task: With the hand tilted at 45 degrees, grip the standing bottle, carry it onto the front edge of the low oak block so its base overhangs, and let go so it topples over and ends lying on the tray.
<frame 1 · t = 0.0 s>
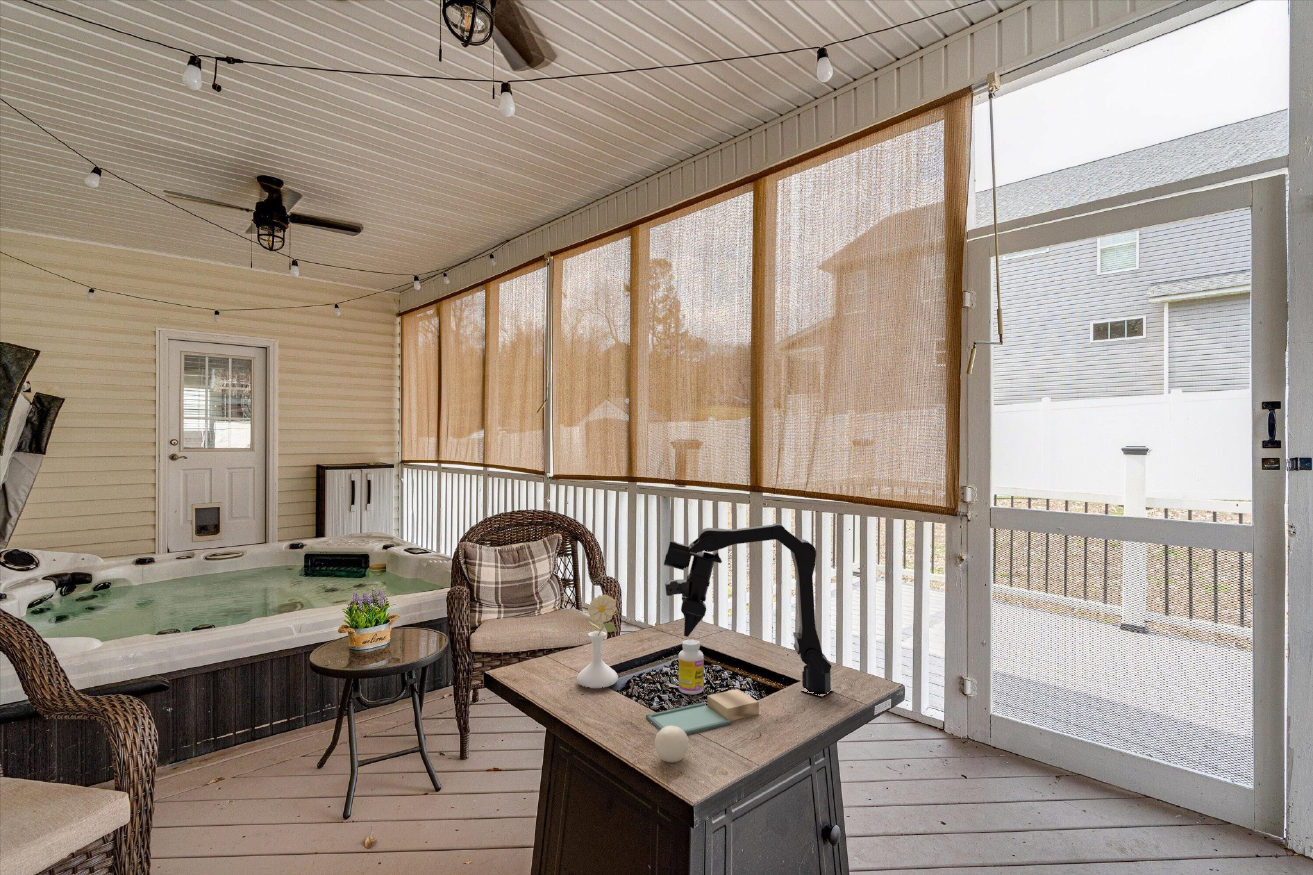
hand: (686, 631, 165), 15 cm above the table, tool pointing down, fingers open, 9 cm apart
supplement bottle: (691, 691, 164), on the table
flower in vase: (599, 685, 168), on the table
cream white ball: (672, 760, 127), on the table
block: (732, 710, 151), on the table
tray: (687, 721, 145), on the table
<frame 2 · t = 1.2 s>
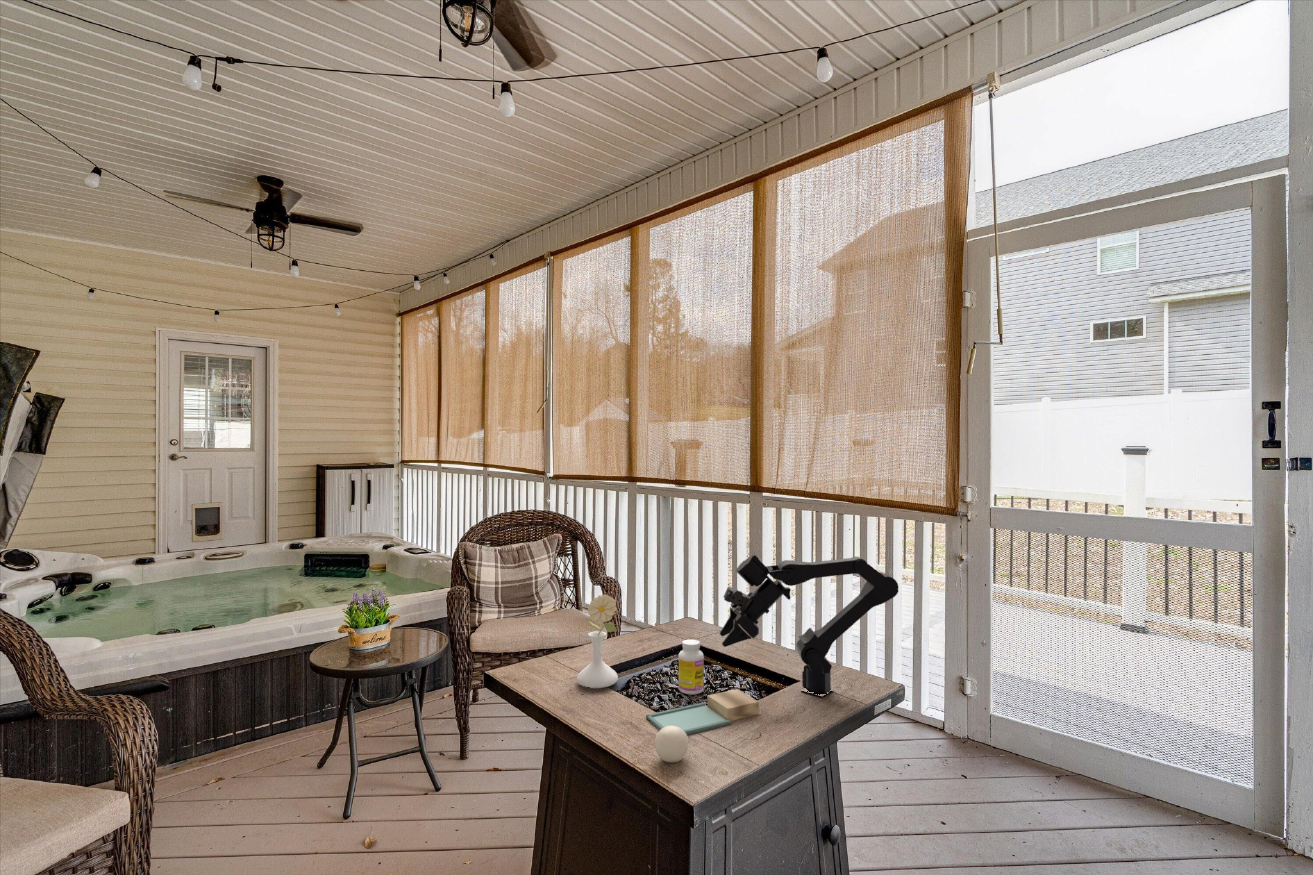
hand: (722, 640, 164), 13 cm above the table, tool tilted 45°, fingers open, 9 cm apart
nothing on the table moved.
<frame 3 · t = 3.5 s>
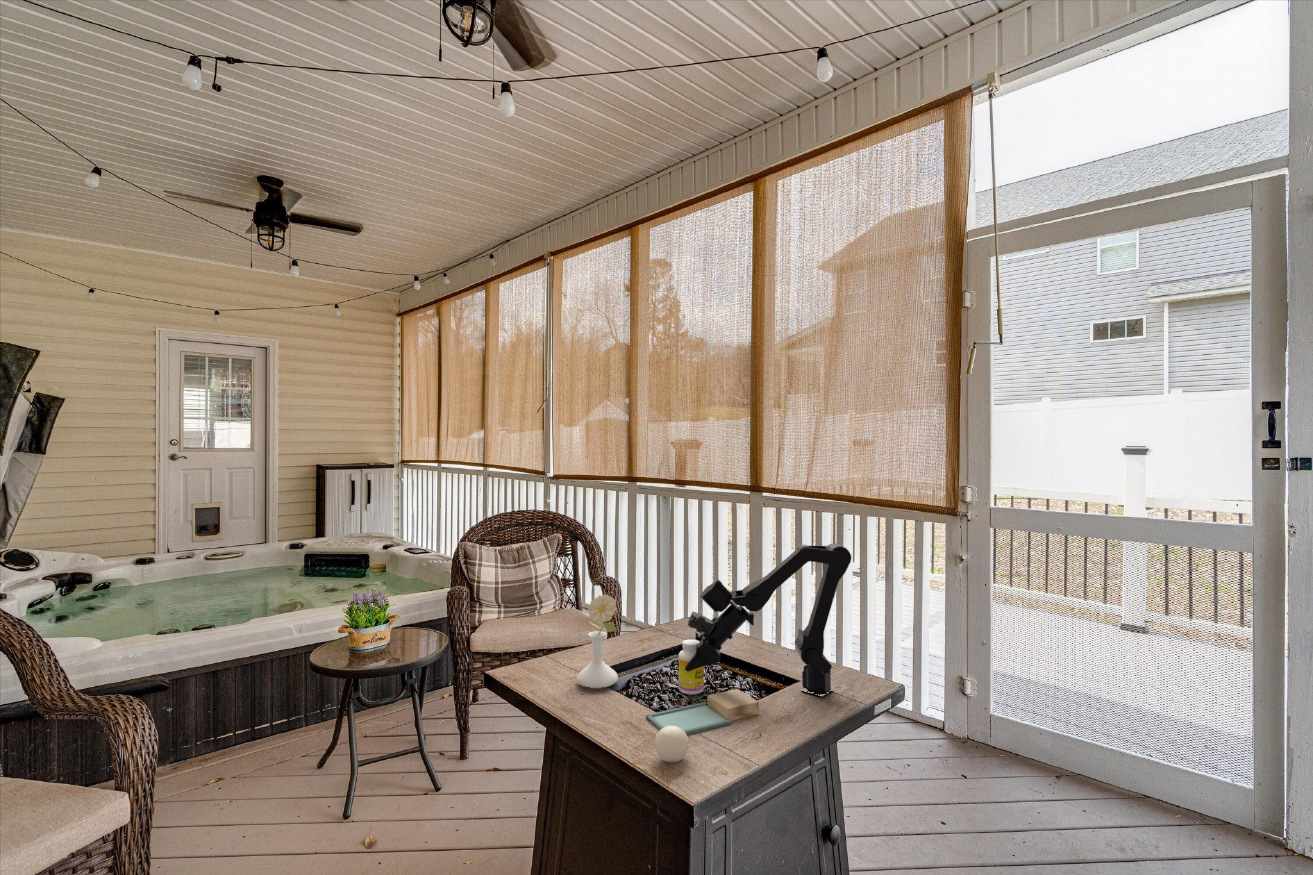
hand: (685, 665, 164), 7 cm above the table, tool tilted 45°, fingers closed on supplement bottle, 7 cm apart
supplement bottle: (691, 691, 164), on the table, touching gripper
everything else where it was.
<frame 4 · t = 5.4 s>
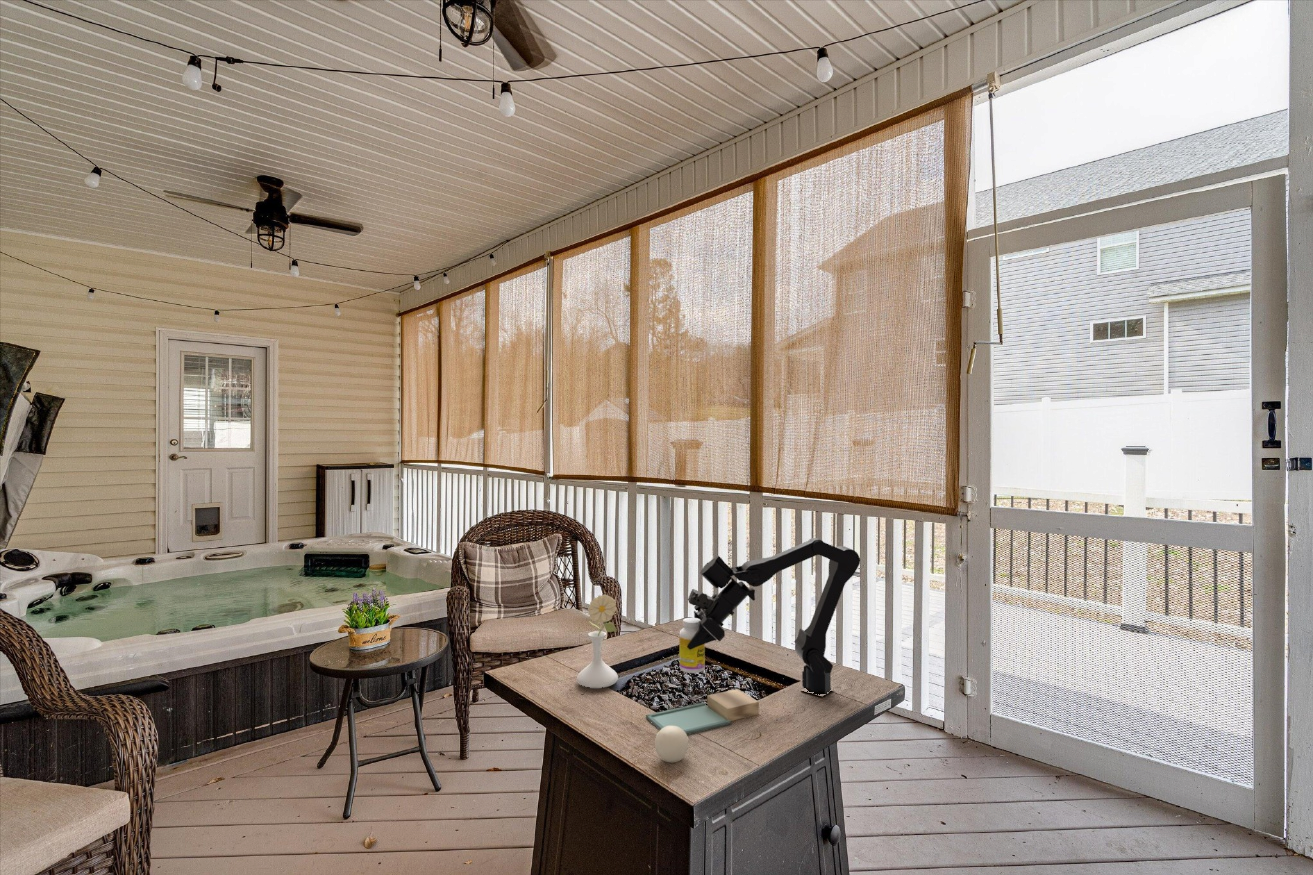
hand: (686, 643, 161), 13 cm above the table, tool tilted 45°, fingers closed on supplement bottle, 7 cm apart
supplement bottle: (692, 670, 161), point 6 cm above the table, touching gripper
everything else where it was.
when the fingers open (10 cm above the table, at t = 7.3 s): supplement bottle moves 3 cm, resting on tray.
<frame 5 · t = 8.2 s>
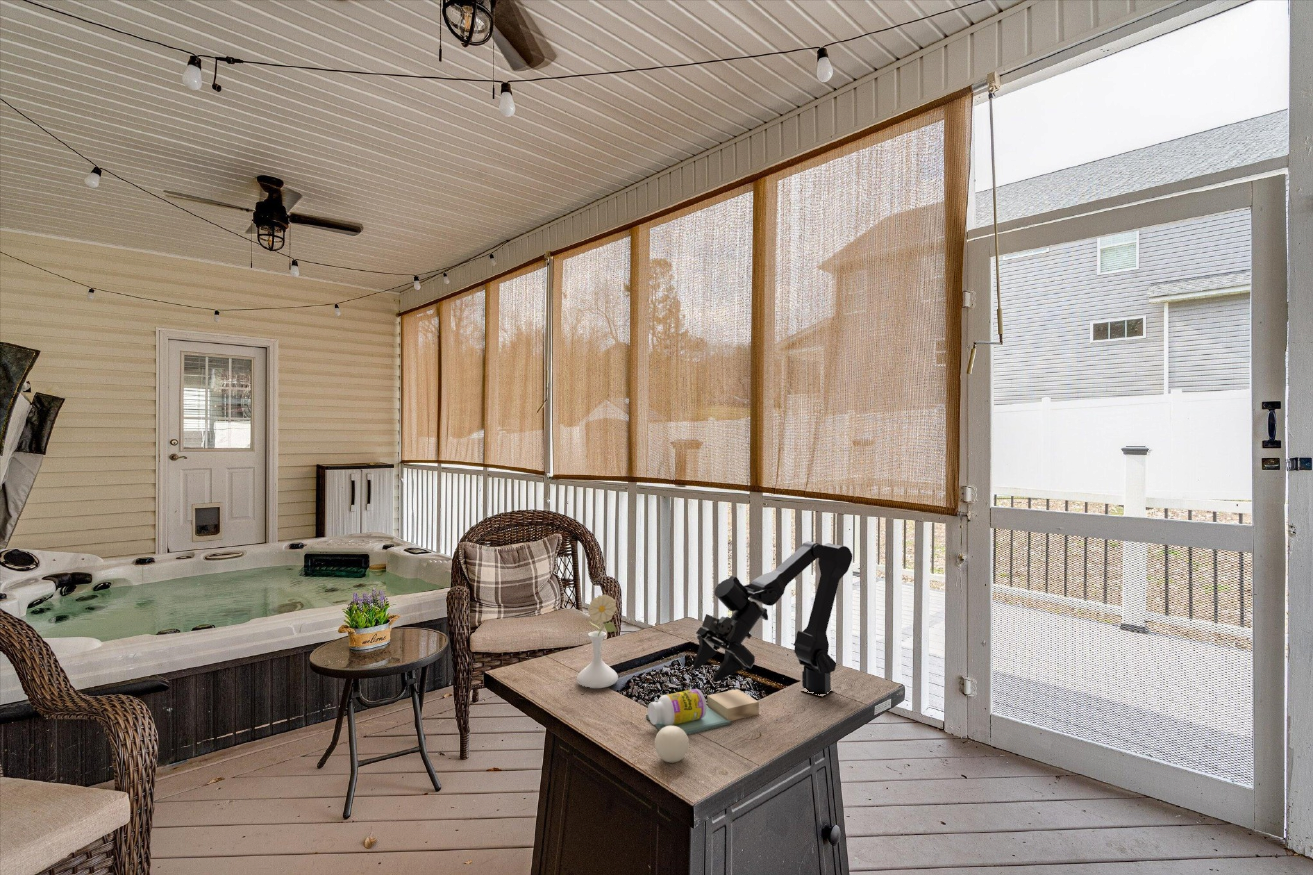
hand: (703, 674, 147), 10 cm above the table, tool tilted 45°, fingers open, 9 cm apart
supplement bottle: (701, 702, 146), point 4 cm above the table, touching tray
everything else where it was.
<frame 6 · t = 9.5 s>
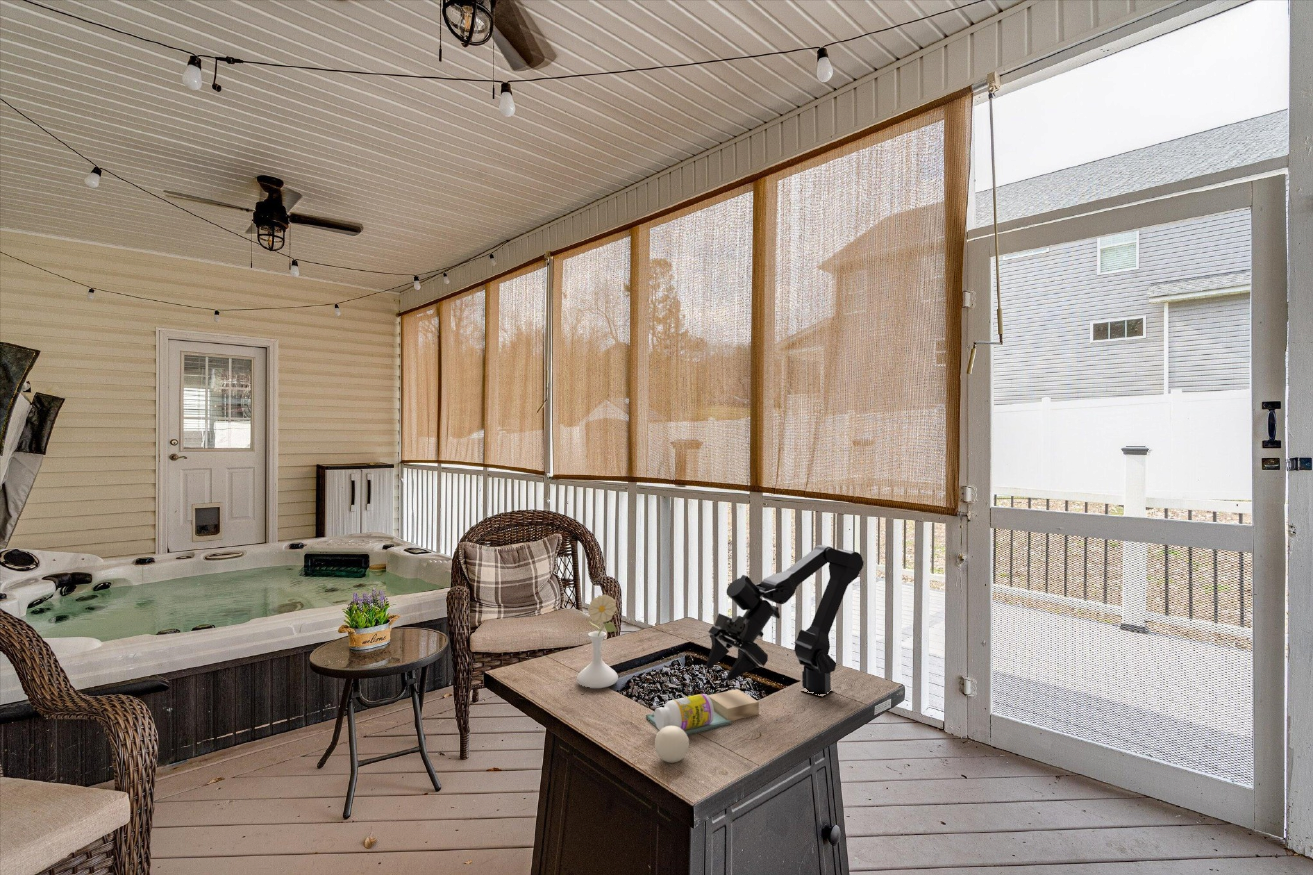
hand: (717, 673, 149), 10 cm above the table, tool tilted 45°, fingers open, 9 cm apart
supplement bottle: (708, 707, 143), point 4 cm above the table, touching tray
everything else where it was.
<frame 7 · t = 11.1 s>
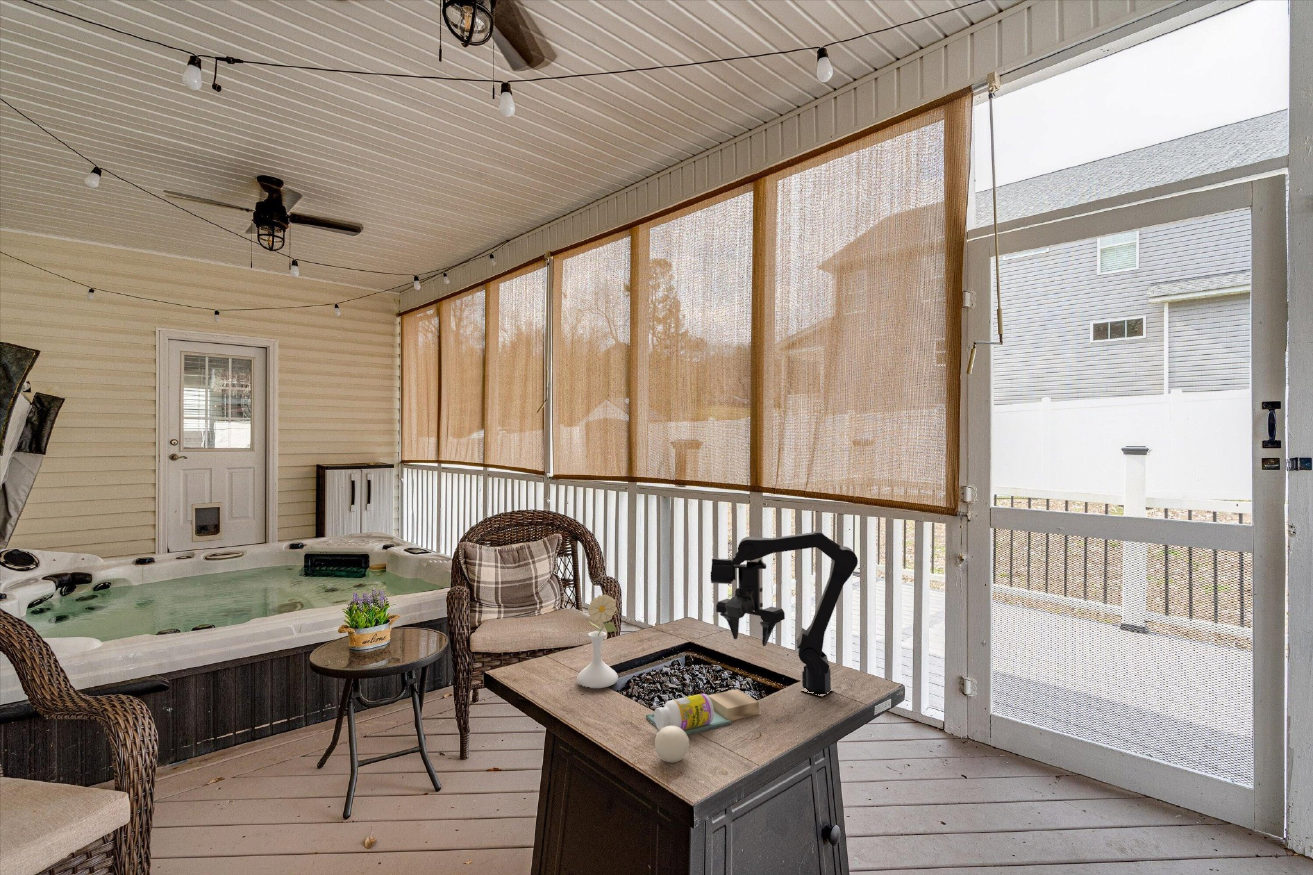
hand: (749, 642, 166), 12 cm above the table, tool pointing down, fingers open, 9 cm apart
nothing on the table moved.
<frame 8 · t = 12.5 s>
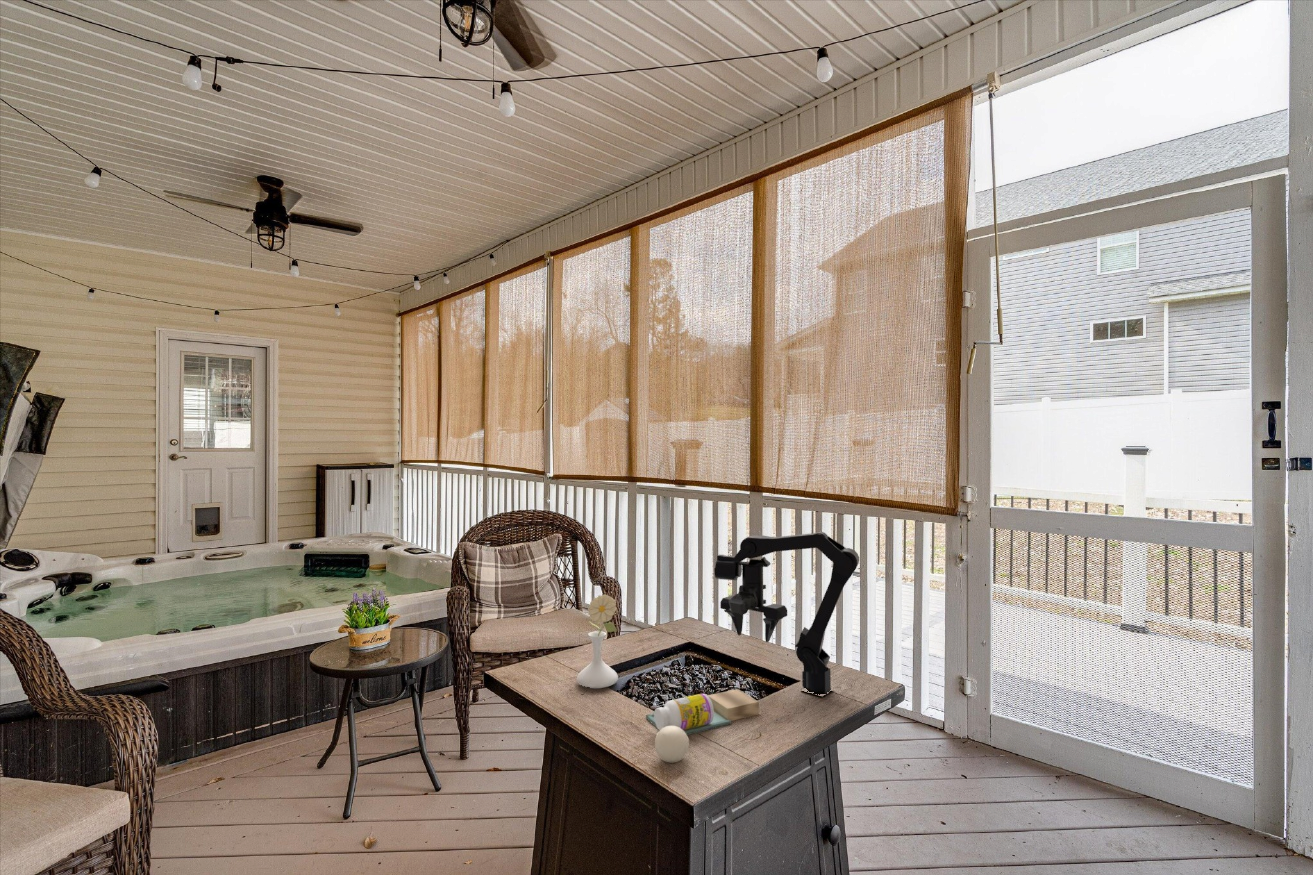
hand: (753, 638, 169), 12 cm above the table, tool pointing down, fingers open, 9 cm apart
nothing on the table moved.
at the end: supplement bottle tilted 91°; supplement bottle 5.1 cm from the tray (horizontally); the gripper is holding nothing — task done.
